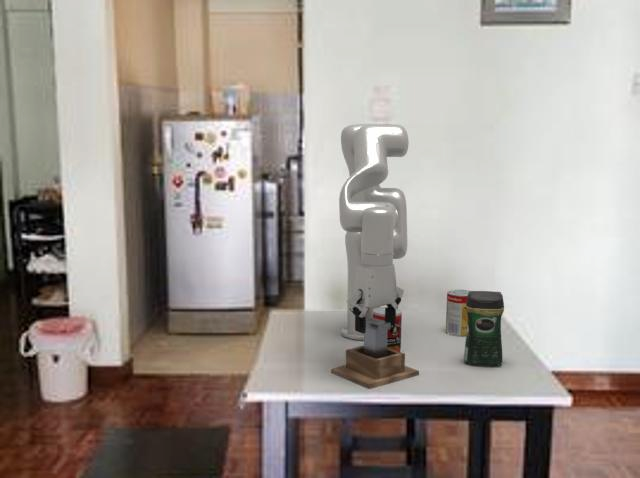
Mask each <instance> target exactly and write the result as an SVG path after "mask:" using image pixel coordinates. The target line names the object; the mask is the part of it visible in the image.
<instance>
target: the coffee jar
mask: <svg viewBox="0 0 640 478" xmlns="http://www.w3.org/2000/svg"><path fill="white" fill-rule="evenodd" d="M503 297H504V296H503V293H502V292H501V291H492V290H491V291H488V290H469V292H468V296H467V301H466V311H467V315H468V325H467V335H466V336H465V344H464V352H463V353H464V354H463V360H464V362H465V363H467V364H469V365H471V366H479V367H496V366H500V365H502V363H503V345H502V344H503V343H502V341H503V340H502V316H503V313H504V311H505V303H504V298H503Z"/></svg>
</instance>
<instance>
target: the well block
mask: <svg viewBox="0 0 640 478" xmlns="http://www.w3.org/2000/svg"><path fill="white" fill-rule="evenodd" d="M405 364H406V354H405V352H402V351H400V352H399V351H396V350H393V349H390V348H387V356H386V357H382V358H378V359H375V358H373V357H370V356H367V355H365V354H364V345H361V346H356V347H352V348H348V349H345V364H344V365H340V366H336V367H332V368H331V369H330V372H331V374H334V375H336V376H338V377H340V378H344V379H346V380H347V381H350V382H353V383H356V384H357V385H359V386H363V387H365V388H367V389H369V390H370V389H374V388H377V387H380V386H384V385H387V384H390V383H391V384H392V383H394V382H397V381H401V380H405V379H408V378H412V377H415V376H419V375H420V371H419V370H417V369H415V368H413V367H410V366H407V365H405Z"/></svg>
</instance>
